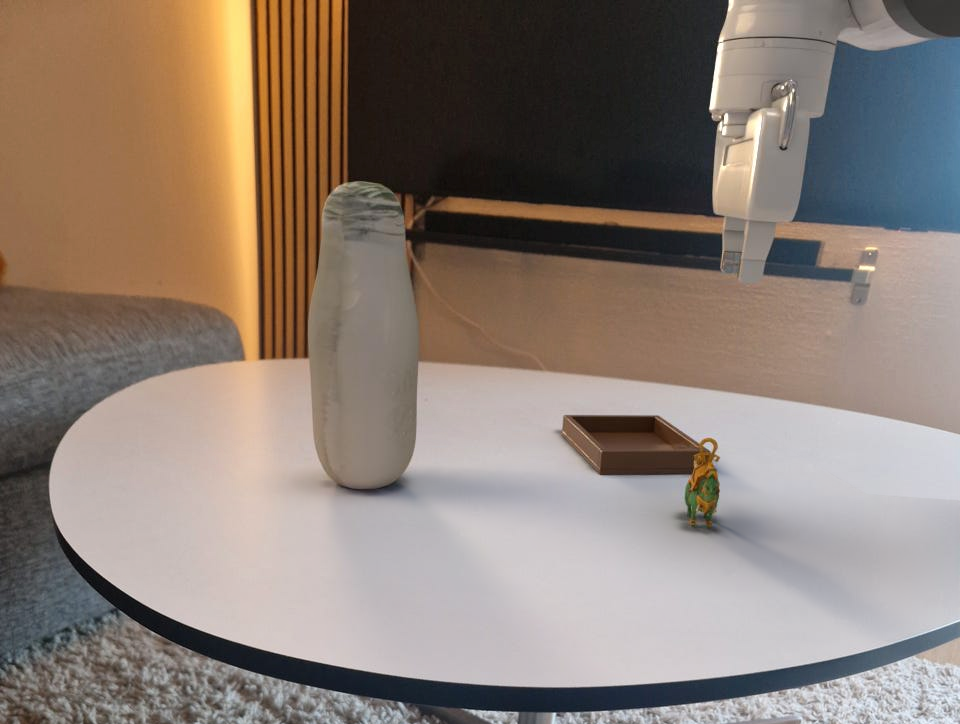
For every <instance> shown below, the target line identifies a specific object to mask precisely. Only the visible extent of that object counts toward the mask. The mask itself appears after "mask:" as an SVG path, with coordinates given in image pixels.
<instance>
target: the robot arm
mask: <svg viewBox="0 0 960 724" xmlns="http://www.w3.org/2000/svg"><path fill="white" fill-rule="evenodd" d="M952 38H953V39H954V38H960V0H728V6H727V13H726V16H725V21H724V23H723V26H722V29H721V31H720V34H719V37H718V41H717V48H716V49H717V50H716V56H715V63H714V71H713V79H712V86H711V94H710V100H709V101H710V102H709V108H708V112H709V113H710V114H711V120H712V121H714V122H718V123H717V128H716V137H715V144H714V145H715V147H714V161H713V176H712V210H713V213H714V214H715V215H717V216H723V224H722V230H721V231H722V233H721V234H722V235H721V236H722V237H721V238H722V252H721V253H722V254H721V259H720V271H721V273H724V274H727V275H736V278H737V280H738V281H739V282H740V283H742V284H746V285H747V284H749V285H759V284H760V283H761V282H762V280H763V278H764V273H765V272H764V271H765V266H766V260H767V258H768V256H769V253H770V251H771V248H772V245H773V243H774V239H775V235H776V228H777V224H778V223H790V222H792V221H793V220H794V218H795V217H796V213H797V211H798V207H799V204H800V199H801V194H802V187H803V181H804V174H805V167H806V161H807V152H808V145H809V137H810V125H811V121H810V120H811V119H816V118H821V117H822V116H823V115H824V114H825V108H826V103H827V97H828V92H829V86H830V80H831V75H832V68H833V64H834V58H835V53H836V48H837V42H838V43H841V44H844V45H849V46H852V47H856V48H859V49H862V50H867V51H873V52H874V51H886V50H890V49H894V48H899V47H906V46H910V45H915V44H918V43H919V44H920V43H922V42H927V41H931V40H934V39H935V40H938V39H939V40H940V39H952Z"/></svg>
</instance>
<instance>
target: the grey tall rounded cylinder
mask: <svg viewBox="0 0 960 724" xmlns="http://www.w3.org/2000/svg"><path fill="white" fill-rule="evenodd" d="M406 245H407V242H406V223H405V216H404V212H403V208H402V206H401V203H400V201H399V199H398V197H397V196H396V194H395V192H393V191H392V190H391V189H390V188H388V187H387V186H384V185H383V184H381V183H375V182H369V181H360V180H357V181H350V182H344V183H342V184H340V185H338V186H337V187H335V188H333V190H331V192H330V193H329V195H328V196H327V198H326V200H325V202H324V205H323V208H322V214H321V241H320V248H319V257H318V264H317V265H318V266H317V271H316V276H315V281H314V285H313V290H312V294H311V299H310V300H311V301H310V305H309V312H308V320H307V323H308V324H307V338H308V340H307V341H308V362H309V364H308V365H309V376H310V378H309V379H310V395H311V397H310V398H311V415H312V419H311V420H312V432H313V433H312V435H313V442H314V447H315V451H316V454H317V458H318V461H319V463H320V465H321V467H322V469H323V471H324V472H325V473H326V475H327V476H328V477H329V478H330V479H331V480H332V481H334V482H335V483H336V484H338V485H340V486H342V487H345V488H348V489H353V490H376V489H381V488H385V487H387V486H390V485H391V484H393V483H395V482H396V481H397V480H398V479H400V478H401V476H402V475H403V474H404V473H405V472H406V470H407V469H408V468H409V465H410V463H411V461H412V458H413V455H414V451H415V448H416V442H417V425H418V423H417V422H418V419H417V418H418V417H417V416H418V415H417V414H418V382H419V381H418V379H419V349H420V348H419V347H420V345H419V344H420V342H419V341H420V340H419V339H420V336H419V335H420V334H419V333H420V332H419V318H418V311H417V305H416V301H415V295H414V289H413V284H412V279H411V275H410V270H409V264H408V255H407V254H408V253H407V246H406Z"/></svg>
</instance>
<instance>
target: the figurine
mask: <svg viewBox="0 0 960 724" xmlns="http://www.w3.org/2000/svg"><path fill="white" fill-rule="evenodd" d="M706 443H710V444H712V446H713V448H712V451H710V452H703V446H704V445H705V444H706ZM718 448H719V446H718V442H717V441H716V440H715V439H714V438H711V437H706V438H703V439H701V441H700V442H699V450H700V453H698V454H696V455H694V457H695V460H696V462H695V460H694V471H693V474H691V476H690V478H689V479H688V481H687V483H686V485H685V488H684V503H685V506H686V508H687V511H686V517H687V518H690V519H689V520H690V522H689V525H690V528H693V529H695V527H696V524H697V519H696V514H697V513H699V512H701V513H702V514H703V517H702V519H704V520H705V519H706V520H705V527H706V529H707V530H710V529H711V527H712V522H713V514H717V513H718V512H717V511H718V510H717V507H718V502H719V500H720V493H721V489H720V486H721V484H720V481H719V473H718V470H717V468H716V467H715V465H714V462H716V463H718V462H719V461H720V459H721V456H719V455H717V454H716V452H717V451H718ZM705 455H709V457H708V459H707V461H706V458H705ZM697 456H698V458H697ZM713 461H714V462H713Z"/></svg>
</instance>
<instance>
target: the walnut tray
mask: <svg viewBox="0 0 960 724" xmlns="http://www.w3.org/2000/svg"><path fill="white" fill-rule="evenodd" d="M561 430H562V431H561V436H562V437H563V439H565V440H566V441H567V442H568V443H569V444H570V446H572V448H573V449H574V450H575V451H576V452H578V454H579V455H580V456H581V457H582V458H583V459H584V460H585V461H586V462H587V463H588V464H589V465H590V466H591V467H592V468H593V470H594V471H596V472H597V473H598V474H599V475H692V474H693V471H694V460H695V457H694V455H696V454H698V453H700V450H699V444H700V442H698V441H696V440H695V439H694V438H692V437H690V435H687V434H686V433H685V432H683V431H682V430H680V429H679V428H678V427H676V426H675V425H673V424H672V423H671V422H669V421H667V420H666V419H664V418H663V417H662V416H660V415H659V414H658V415H651V414H650V415H646V414H643V415H641V414H640V415H639V414H634V415H633V414H630V415H628V414H563V416H562V428H561ZM703 452H711V450H710V449H708V448H706V447H705V446H704V445H703ZM708 457H709V455H705V458H706V461H707V459H708ZM697 458H698V456H697ZM695 462H696V460H695Z"/></svg>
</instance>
